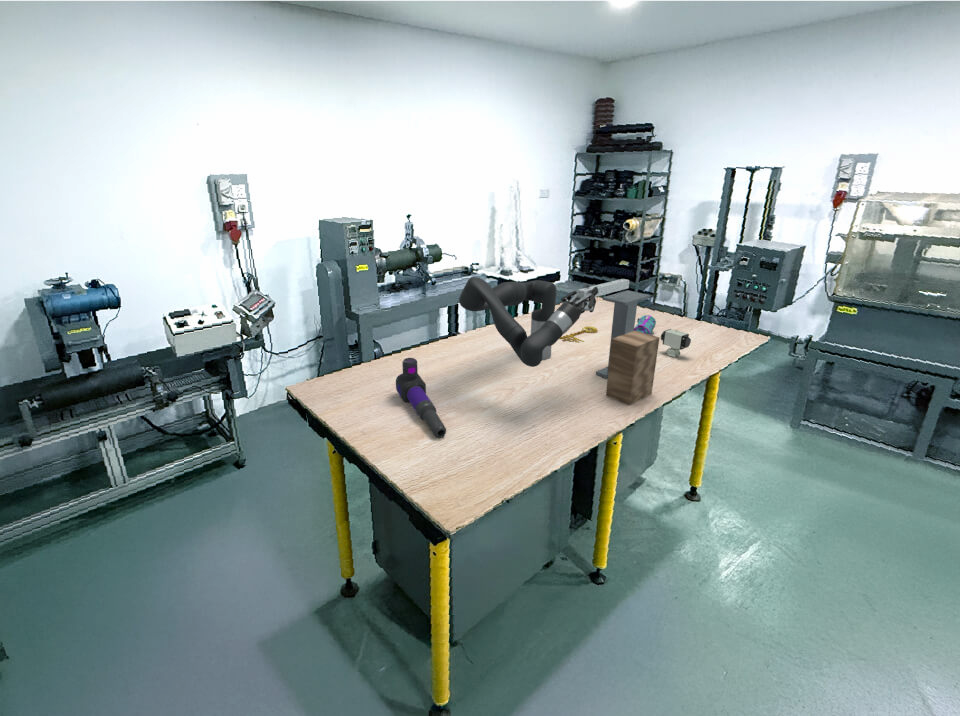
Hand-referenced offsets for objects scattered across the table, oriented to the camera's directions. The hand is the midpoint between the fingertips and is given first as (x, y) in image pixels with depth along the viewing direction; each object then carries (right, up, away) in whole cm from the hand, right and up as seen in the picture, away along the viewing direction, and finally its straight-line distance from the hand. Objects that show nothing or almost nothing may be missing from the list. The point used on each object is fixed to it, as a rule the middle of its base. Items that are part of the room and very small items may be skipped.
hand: (592, 287), depth 171 cm
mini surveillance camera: (+46, -24, +45) cm, 69 cm away
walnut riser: (+15, -38, +10) cm, 42 cm away
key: (+10, -14, +70) cm, 72 cm away
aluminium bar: (+5, -1, +5) cm, 7 cm away
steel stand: (+16, -31, +28) cm, 44 cm away
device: (-59, -44, -2) cm, 73 cm away
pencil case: (+39, -15, +67) cm, 79 cm away
